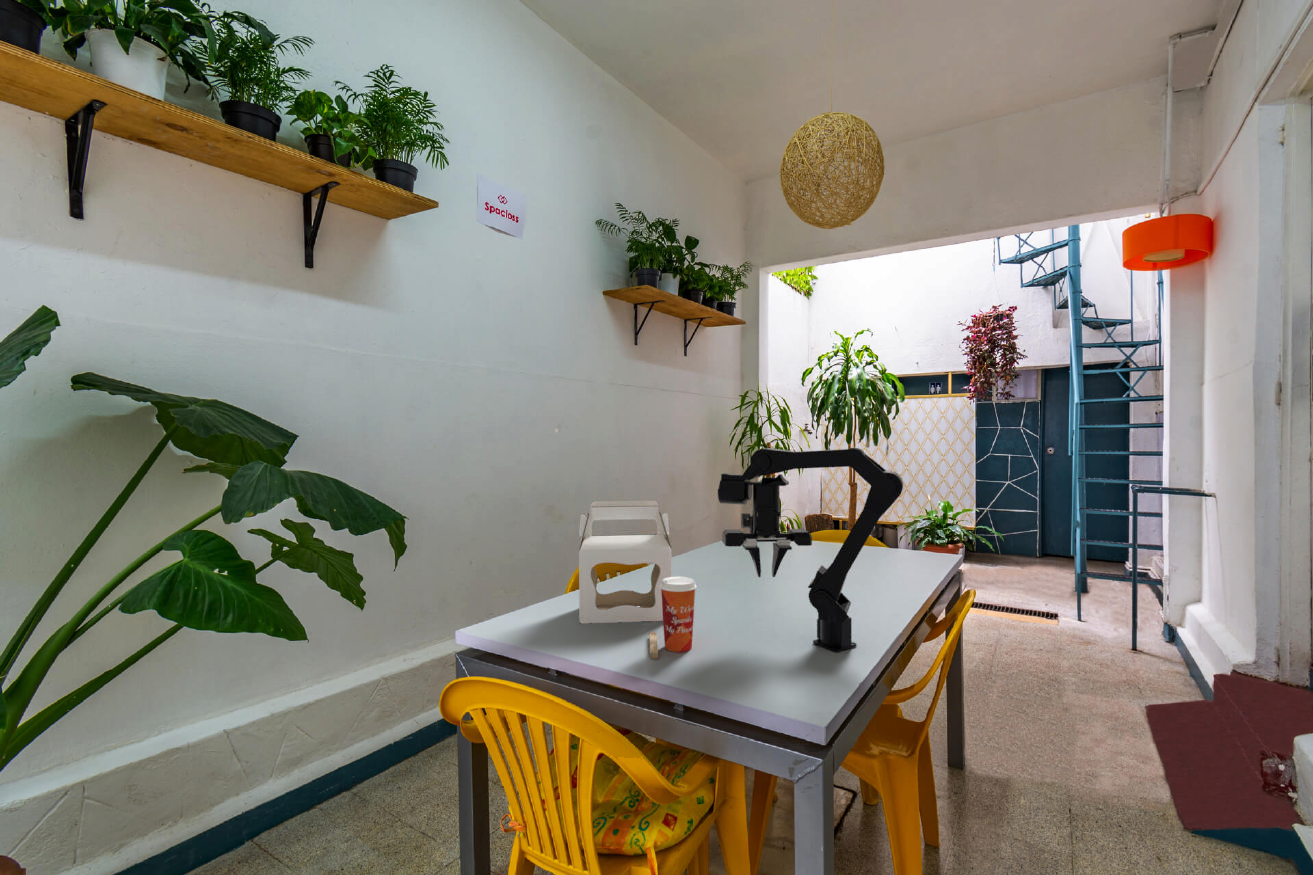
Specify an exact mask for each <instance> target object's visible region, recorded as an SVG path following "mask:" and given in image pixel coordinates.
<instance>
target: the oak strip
mask: <svg viewBox="0 0 1313 875" xmlns="http://www.w3.org/2000/svg"><path fill="white" fill-rule="evenodd" d="M648 635H649V636H648V637H649V655H650V656H649V658H650V659H651V660H652V659H653V660H655V659H659V651H658V650H659V649H658V648H659V646H658V637H657V636H658V635H657V632H656V631H655V632H654V631H651V632H649V633H648Z"/></svg>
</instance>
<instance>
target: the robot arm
mask: <svg viewBox="0 0 1313 875" xmlns="http://www.w3.org/2000/svg"><path fill="white" fill-rule="evenodd" d="M843 467H845V468H846V467H847V468H848V467H849V468H851V469H853V471H855V472H856V473H857V475H858V476H860V477H861V478H862V479H863V480H864V481H865V482H866V483H867V484H868V485H870V488H869V490H868V492H867V496H866V500H865V503H864V506H863V509H862V511H861V512H860V514H859V516H858V518H857V519H856V520H855V523H854V525H853V527H852V528H851V529H850V532H848V533H849V534H848V535H847V537H846V538H845V540H844V542H843V544H842V546H841V547H840V549H839V551H838V553H837V554H836V556H835V558H833V561H832V563H831V564H830V565H829V566H828V567H827V568H826V567H825V566H824V565H821V564H820V566H819V567H818V570H817V571H816V573H815V577H814V578H813V579H812V580H811V582H810V583H809V585H808V586H807V588H808V589H809V592H808V596H807V597H808V600H809V603H810V604H811V606H812V607H813V608H815V609H816V611H817V619H816V638H817V639H814V640H812V643H813V644H815V645H817V646H820V647H823V648H825V649H828V650H829V651H833V652H835V653H837V652H838V653H839V652H841V651H845V650H848V649H851V648H855V647H857V646H858V644H857V642H854V641H852V635H853V634H852V617H850V616H849V615H848V614H849V609H850V607H851V604H852V602H851V601H850V600H849V598H847V596H846V595H845V594H844V593H842V591H843V588H844V585H845V582H846V580H847V576H848V574H849V572H850V569H851V568H852V566H853V564H854V562H855V561H856V560H857V558H858V556H859V554H860V552H861V551H862V549H863V547H864V546H865V544H866V543H867V540H868V539H869V537H870V535H871V533H872V532H873V530H874V528H875V527H876V525H877V524H878V521H879V520H880V518H882V516H883V515H884V514H885V513H886V512H887V511H888V510H889V509H890V508H891V507H892V505H893V504H894V503H895V502H896V501H897V499H898V498H899V497H900V496H901V495H902V492H903V490H904V481H903V478H902V477H901V476H900V474H898V473H897V472H896V471H893V470H886V469H885V468H884V467H883V466H882V465H880V464H879V463H878V462H877V461H876V460H874V459H873V458H871V457H870V456H869V455H867V454H866V453H865V452H864V450H863V449H861V448H859V447H857V446H856V447H850V448H843V449H842V448H840V449H823V450H806V451H805V450H803V451H794V450H788V449H787V450H786V449H781V448H780V449H779V448H774V447H773V448H771V447H770V448H769V447H767V448H759V449H757V450H755V451H754V453H753V454H752V455H751V457H750V464H749V466H748V467H747V468H746V470H745V471H744V473H743V474H733V473H730V472H729V473H727V472H724V473H721V475H720V481H719V484H718V488H717V498H718V499H717V500H718V502H719V503H720V504H725V505H727V504H728V505H744V506H745V505H747V503H748V502H749V501H751V500H752V515H751V513H747V512H745V513H741V514H740V527H741V529H724V530H723V531H722V535H721V536H722V537H721V541H722V543H723V545H724V546H725V547H742V548H743V549H744V550H745V551H748V553H749V554H750V557H751V560H752V562H753V566H754V568H755V572H756V575H757V577H758V578H761V575H762V566H761V565H762V563H761V553H760V547H759V546H758V542H759V543H760V542H761V543H766V542H768V543H769V542H771V543H772V552H773V554H772V563H771V564H772V565H771V576H772V578H775V577H776V575H777V573H778V570H779V568H780V566H781V563H782V561H783V558H784V557H785V556H786V554H787V552H788V551H792V549H793V547H792V546H791V542H794V543H795V544H796V546H798V547H802V546H804V547H805V546H807V547H808V546H809V547H810V546H813V539H812V538H813V537H812V534H811V533H810V532H809V531H808V530H806V529H804V528H788V530H787V532H781V530H780V521H781V520H780V518H781V511H780V509H781V508H780V487H786V486H788V485H789V484H790V482H789V481H788V480H787V479H786V477H785V478H784V475H783V474H778V475H777V476H776V477H767V476H769V475H772V474H773V475H774V474H777V473H782V472H783V473H784V472H786V471H787V472H788V471H791V470H795V469H796V470H797V469H799V470H800V469H818V468H819V469H823V468H826V469H827V468H843ZM762 476H766V477H763V478H762V479H761V481H753V480H754V479H758V478H760V477H762ZM742 529H749V533H747V532H743V531H742Z"/></svg>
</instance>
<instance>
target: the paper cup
mask: <svg viewBox="0 0 1313 875" xmlns="http://www.w3.org/2000/svg"><path fill="white" fill-rule="evenodd" d="M697 587H698V586H697V584H696V581H695V580H694V579H693V578H691V577H687V576H672V577H668V578H665V579H663V580H662V582H661V585H660V588H661V593H662V613H663V621H662V624H663V625H662V626H663V637H664V638H663V639H664V648H665V650H666V651H668V652H673V653H686V652H688V651H690V650H692V648H693V647H692V646H693V636H694V635H693V634H694V618H695V617H694V616H695V598H696V597H695V596H696V595H695V594H696V589H697Z"/></svg>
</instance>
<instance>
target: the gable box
mask: <svg viewBox="0 0 1313 875" xmlns="http://www.w3.org/2000/svg"><path fill="white" fill-rule="evenodd" d="M668 515H669V514H668V512H663V513H662V514H661V511H659V505H658V502H657V501H656V500H655V499H650V500H648V499H647V500H645V499H644V500H595V501H594V500H593V501H592V502H591V503H590V508H589V512H588V513H587V516H586V514H584V513H583V514H580V520H579V530H578V536H579V537H581V538H580V544H579V548H578V587H579V588H578V590H579V591H578V592H579V594H578V599H579V601H578V603H579V606H578V609H579V610H578V611H579V612H578V616H579V619H578V620H579V624H580V623H581V624H580V625H582V624H583V625H587V624H589V623H592V624H617V623H618V624H620V623H619V622H622V623H642V622H641V621H652V622H663V613H662V593H661V588H660V585H661V582H662V580H663V579H665V578H668V577H673V576H672V546H671V543H670V540H669V537H668V535H670V526H669V516H668ZM611 520H612V521H613V520H614V521H616V520H619V521H620V520H649V521H651V520H653V521H655V522H656V534H654V533H653V534H652V533H651V534H649V533H647V534H610V535H609V534H608V535H607V534H606V535H605V534H603V535H601V534H600V535H593V527H592V526H593V523H594V522H595V521H596V522H597V521H611ZM606 563H607V564H609V563H612V564H620V565H629V566H631V565H633V566H634V565H640V564H641V565H642V564H654V566H653V569H652V571H651V574H650V582H651V583H650V585H651V586H650V587H651V589H650V591H649V592H646V593H641V592H638V591H634V590H618V591H613V592H609V593H599V592H598V591H597V584H598V576H597V572H596V569H595V566H596V565H600V564H606ZM637 606H640V607H637Z"/></svg>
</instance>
